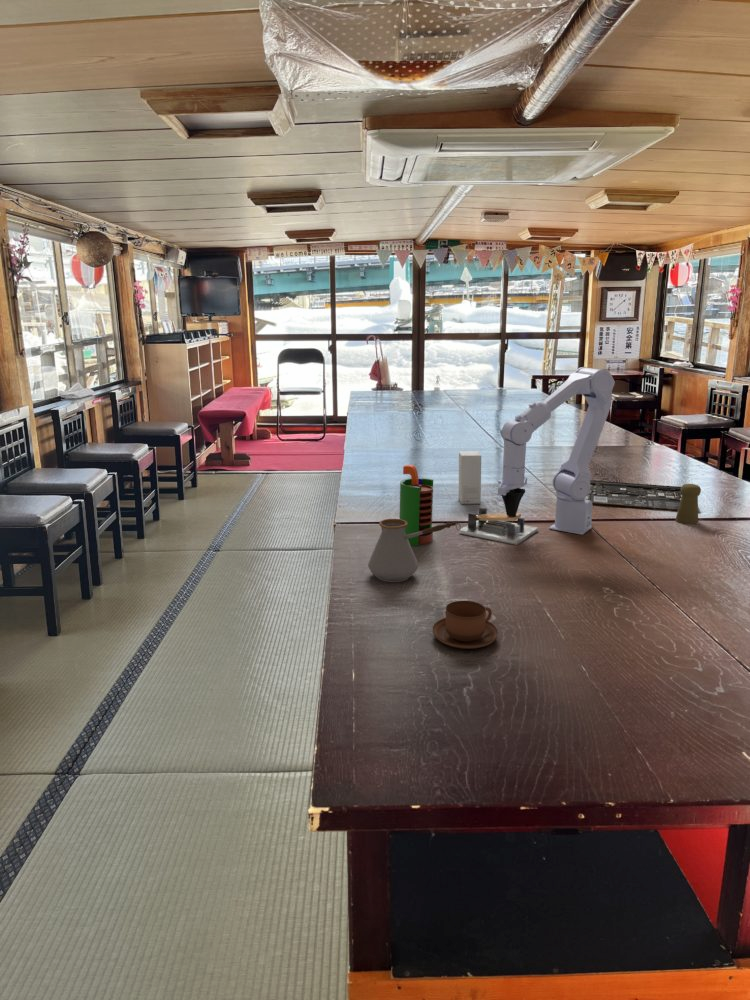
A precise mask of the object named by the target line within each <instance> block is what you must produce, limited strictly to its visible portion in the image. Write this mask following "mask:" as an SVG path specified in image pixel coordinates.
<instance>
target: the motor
mask: <svg viewBox="0 0 750 1000" xmlns="http://www.w3.org/2000/svg"><path fill="white" fill-rule="evenodd" d="M402 468H403V469H402V474H403V475H410V477H409V478H405V479H402V480H400V482H399V484H400V485H399V489H400V490H399V519H401V520H405V521H406V522H407V523H408V525H407V526H406V527H405V534H406V535H408V534H412V533H416V532H420V531H423V530H425V529H428V528H431V527H433V526H432V525H433V503H434V500H433V497H434V479H433V478H432V479H431V478H426V477H425V478H424V477H419V475H418V470H417V467H416V466H415V465H414V464H406V465H404V466H403V467H402ZM433 537H434V532H431V533H427V534H422V535H418V536H415V537H412V538H409V539H408V541H409V543H410V545H411V547H412V546H414V547H417V546H418V547H419V545H426V544H427V545H428V544H430V543H432V542H433V540H434V539H433Z"/></svg>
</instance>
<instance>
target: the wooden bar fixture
mask: <svg viewBox="0 0 750 1000" xmlns="http://www.w3.org/2000/svg"><path fill="white" fill-rule="evenodd" d="M487 511H488V508H486V507H478V514H480V513H482V514H488V513H487ZM476 515H477V513H473V512H468V515H467V516H468V517H467V518H468V519H467V525H466V526H463V527H461V529H460V528H459V529H460V530H459V529H458V530H459V531H458V534H460V535H466V536H470V537H475V538H480V539H485V540H486V539H487V540H491V541H496V542H501V543H506V544H510V545H515V546H517V545H519V544H521V543H522V542H523V541H525V540H527V539H528V538H530V537H531V536H534V534H535V533H537V532H538V531H539V527H537V526H533V525H527V524H525V518H524V517H520V518H518V519H517V523H515V522H511V521H476Z"/></svg>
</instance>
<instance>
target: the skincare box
mask: <svg viewBox="0 0 750 1000" xmlns="http://www.w3.org/2000/svg"><path fill="white" fill-rule="evenodd" d="M481 485H482V454H481V453H480V452H479V451H477V450H472V451H471V450H469V451H458V499H459V503H460V504H461V505H479V504H480V505H481V503H482V501H481V500H482V496H481V495H482V494H481V493H482V486H481Z"/></svg>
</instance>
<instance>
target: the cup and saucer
mask: <svg viewBox="0 0 750 1000" xmlns="http://www.w3.org/2000/svg"><path fill="white" fill-rule="evenodd" d="M487 612H488V615H487ZM486 615H487V616H486ZM492 615H493V612H492V609H491V608H490V607H489V606H488V607H487V606H484V605H483V604H481V603H479V602H476V601H473V600H472V601H471V600H455V601H451V602H450V603H448V604H447V605H445V617H444V618H441V619H439V620H437V621H436V622H434V624H433V626H432V633H433V635H434V637H435V638H436V639H437V640H438V641H439V642H441V643H443V644H444V645H446V646H449V647H452V648H457V649H464V650H467V649H468V650H471V649H472V650H474V649H479V648H483V647H486V646H488V645H491V644H492V643H493V642H494V641H496V639H497V638H498V634H499V631H498V628H497V627H496V626H495V625H494V624H493V623H492V622H490V619H491V617H492Z"/></svg>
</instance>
